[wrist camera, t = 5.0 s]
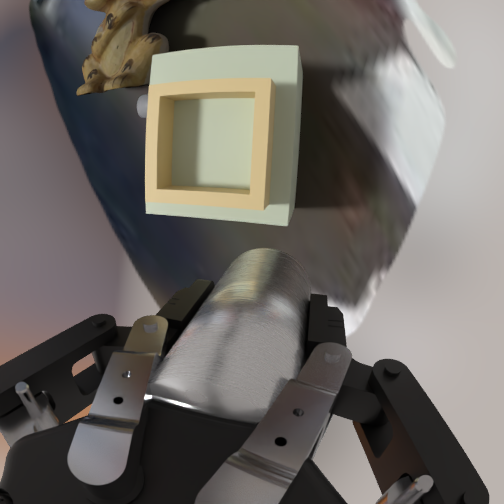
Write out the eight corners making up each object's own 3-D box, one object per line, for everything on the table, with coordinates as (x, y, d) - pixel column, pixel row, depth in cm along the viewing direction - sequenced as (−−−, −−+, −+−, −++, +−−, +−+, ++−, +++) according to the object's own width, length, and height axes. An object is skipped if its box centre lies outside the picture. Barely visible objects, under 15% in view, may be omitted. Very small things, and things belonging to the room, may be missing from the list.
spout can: (224, 243, 15) (83, 403, 5) (316, 253, 14) (304, 462, 4) (224, 320, 16) (133, 488, 6) (305, 331, 15) (277, 526, 6)
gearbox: (164, 77, 28) (107, 55, 18) (302, 72, 25) (295, 33, 16) (159, 199, 33) (102, 220, 23) (294, 210, 30) (283, 238, 20)
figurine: (53, 105, 23) (73, -38, 16) (100, 106, 31) (111, -18, 24) (176, 76, 21) (189, -81, 14) (208, 90, 29) (212, -45, 22)
